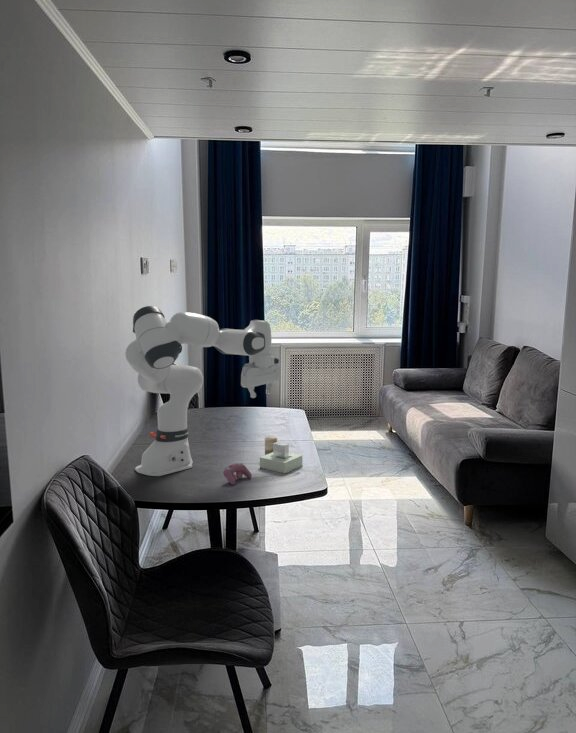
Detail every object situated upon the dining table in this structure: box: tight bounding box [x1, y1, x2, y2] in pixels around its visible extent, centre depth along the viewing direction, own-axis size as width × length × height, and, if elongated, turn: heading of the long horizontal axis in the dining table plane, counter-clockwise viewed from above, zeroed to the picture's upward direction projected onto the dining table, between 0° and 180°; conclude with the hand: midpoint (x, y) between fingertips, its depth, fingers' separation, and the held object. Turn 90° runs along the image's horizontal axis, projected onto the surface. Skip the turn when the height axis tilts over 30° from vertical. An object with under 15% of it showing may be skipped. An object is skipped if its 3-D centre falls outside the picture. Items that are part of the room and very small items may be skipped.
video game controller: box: [222, 462, 252, 486], centre depth 210 cm, size 10×5×7 cm, turn 141°
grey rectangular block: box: [273, 441, 290, 460], centre depth 224 cm, size 2×6×9 cm, turn 53°
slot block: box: [259, 452, 303, 474], centre depth 225 cm, size 11×12×4 cm
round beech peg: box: [264, 436, 278, 455], centre depth 236 cm, size 5×5×8 cm
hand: (261, 395), depth 234 cm, fingers open, 8 cm apart
